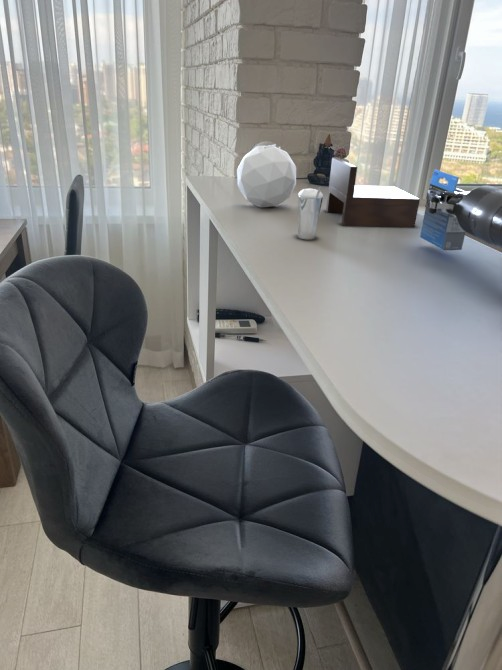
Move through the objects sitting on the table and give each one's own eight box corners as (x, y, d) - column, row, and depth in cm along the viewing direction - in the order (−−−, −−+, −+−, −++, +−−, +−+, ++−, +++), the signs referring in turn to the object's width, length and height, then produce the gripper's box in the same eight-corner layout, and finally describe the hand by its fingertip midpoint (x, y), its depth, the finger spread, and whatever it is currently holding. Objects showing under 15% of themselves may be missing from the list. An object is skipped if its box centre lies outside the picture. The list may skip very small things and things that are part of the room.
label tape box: (462, 251, 87) (480, 177, 82) (440, 250, 87) (458, 176, 81) (437, 237, 95) (452, 169, 90) (417, 236, 94) (431, 168, 89)
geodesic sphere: (260, 171, 130) (246, 124, 118) (311, 178, 124) (302, 130, 112) (236, 215, 124) (219, 170, 112) (289, 224, 119) (277, 178, 106)
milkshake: (303, 242, 94) (308, 187, 89) (290, 235, 98) (295, 182, 93) (324, 241, 95) (331, 186, 91) (311, 233, 100) (316, 181, 95)
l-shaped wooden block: (390, 212, 121) (399, 159, 116) (414, 227, 109) (425, 169, 104) (325, 210, 119) (332, 157, 114) (343, 225, 107) (350, 166, 101)
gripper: (547, 191, 74) (484, 173, 89) (456, 189, 72) (407, 171, 87) (532, 241, 77) (474, 215, 92) (444, 241, 75) (400, 214, 90)
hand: (442, 194), depth 90 cm, fingers open, 4 cm apart
